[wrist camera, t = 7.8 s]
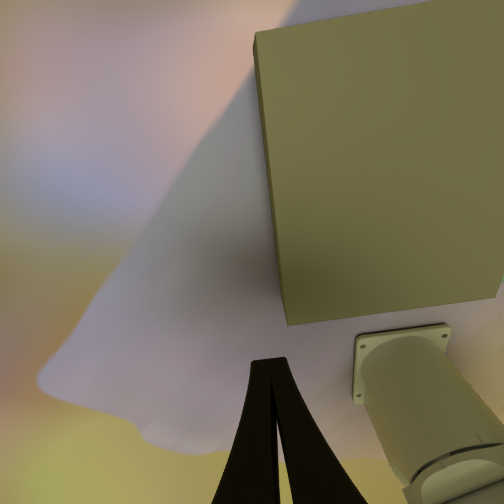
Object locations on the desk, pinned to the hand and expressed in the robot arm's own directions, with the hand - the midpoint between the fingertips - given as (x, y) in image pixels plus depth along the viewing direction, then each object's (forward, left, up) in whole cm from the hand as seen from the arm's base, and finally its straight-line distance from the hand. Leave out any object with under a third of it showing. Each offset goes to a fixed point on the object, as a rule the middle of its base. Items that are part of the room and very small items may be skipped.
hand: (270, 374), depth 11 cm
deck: (+4, -8, -10) cm, 13 cm away
